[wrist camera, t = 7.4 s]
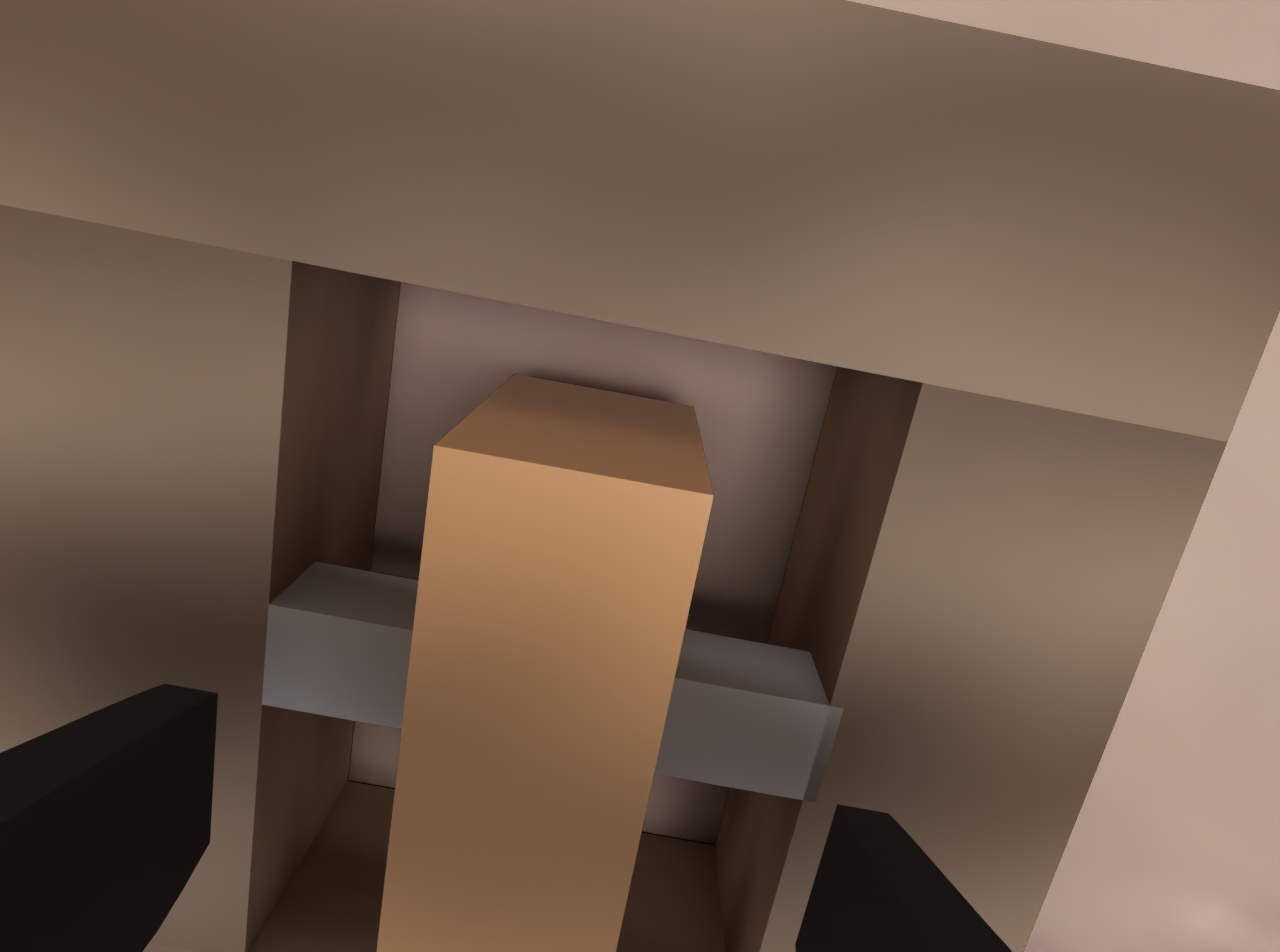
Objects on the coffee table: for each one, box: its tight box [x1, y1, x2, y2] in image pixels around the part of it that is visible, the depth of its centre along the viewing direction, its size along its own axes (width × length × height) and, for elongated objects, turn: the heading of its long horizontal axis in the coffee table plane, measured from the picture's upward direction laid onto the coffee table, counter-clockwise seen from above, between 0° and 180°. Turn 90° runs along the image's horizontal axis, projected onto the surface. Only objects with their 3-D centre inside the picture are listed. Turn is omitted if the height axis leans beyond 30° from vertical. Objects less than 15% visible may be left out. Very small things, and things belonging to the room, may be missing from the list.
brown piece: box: [0, 0, 1280, 952], centre depth 14 cm, size 19×16×4 cm
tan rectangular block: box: [377, 374, 714, 952], centre depth 12 cm, size 8×3×5 cm, turn 170°
